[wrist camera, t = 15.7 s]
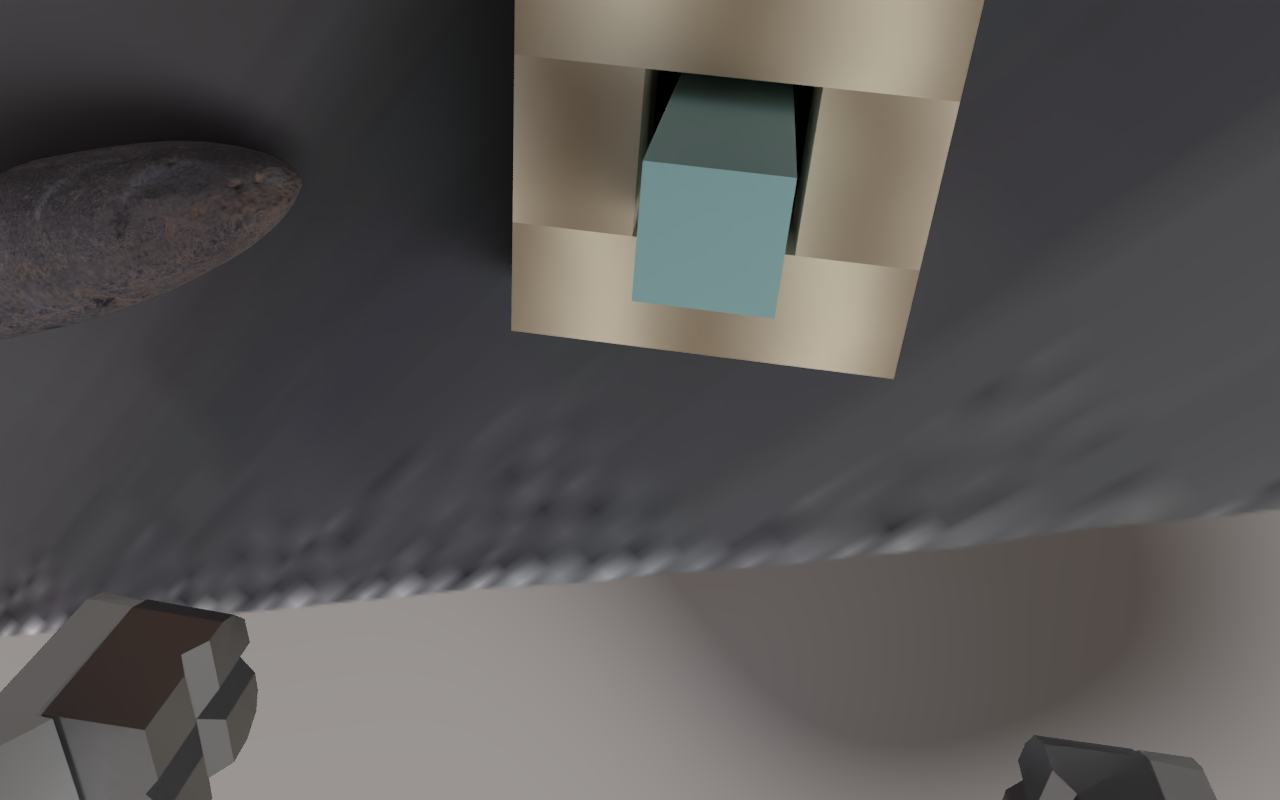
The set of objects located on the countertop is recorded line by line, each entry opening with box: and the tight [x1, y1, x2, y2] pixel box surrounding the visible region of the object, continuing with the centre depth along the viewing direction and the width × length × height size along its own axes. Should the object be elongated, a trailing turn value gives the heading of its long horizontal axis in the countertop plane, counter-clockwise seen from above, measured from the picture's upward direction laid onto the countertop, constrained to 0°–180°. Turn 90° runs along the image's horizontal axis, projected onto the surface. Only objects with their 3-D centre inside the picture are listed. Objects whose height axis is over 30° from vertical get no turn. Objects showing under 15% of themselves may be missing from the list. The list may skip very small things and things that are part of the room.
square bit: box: [632, 72, 797, 319], centre depth 26 cm, size 3×3×10 cm
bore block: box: [511, 0, 984, 379], centre depth 29 cm, size 12×12×4 cm
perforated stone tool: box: [0, 141, 303, 339], centre depth 32 cm, size 15×5×7 cm, turn 103°
